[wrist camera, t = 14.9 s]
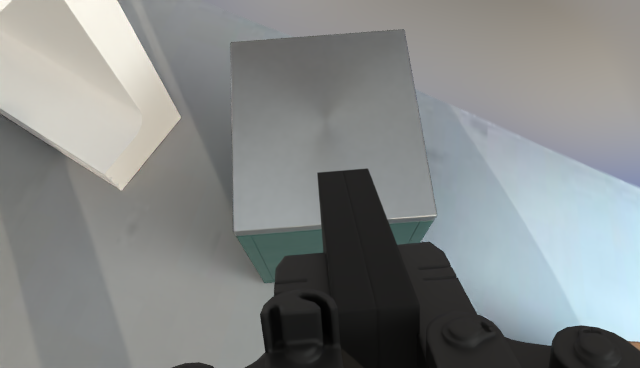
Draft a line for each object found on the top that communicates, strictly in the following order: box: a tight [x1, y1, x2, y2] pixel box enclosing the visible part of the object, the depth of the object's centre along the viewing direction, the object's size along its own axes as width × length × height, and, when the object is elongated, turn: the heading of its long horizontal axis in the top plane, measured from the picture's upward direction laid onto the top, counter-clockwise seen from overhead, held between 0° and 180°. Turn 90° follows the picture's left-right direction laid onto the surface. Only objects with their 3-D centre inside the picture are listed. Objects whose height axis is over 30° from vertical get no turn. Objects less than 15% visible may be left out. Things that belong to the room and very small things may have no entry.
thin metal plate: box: [230, 29, 437, 236], centre depth 29 cm, size 12×11×1 cm
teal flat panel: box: [236, 220, 434, 283], centre depth 35 cm, size 11×11×13 cm
